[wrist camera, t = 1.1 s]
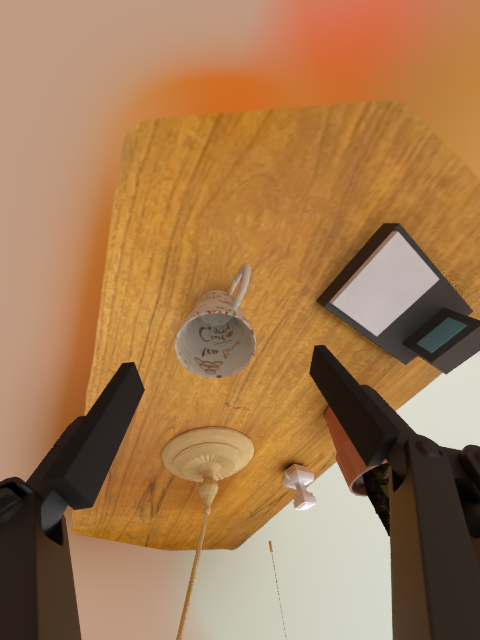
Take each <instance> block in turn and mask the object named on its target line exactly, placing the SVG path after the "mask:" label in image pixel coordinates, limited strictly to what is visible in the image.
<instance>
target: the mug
mask: <svg viewBox="0 0 480 640" xmlns="http://www.w3.org/2000/svg"><path fill="white" fill-rule="evenodd" d="M250 272H251V268H250V265H249V264H248V263H245V264H243V265H242V266H241V267H240V268H239V270H238V272H237V273H236V275H235V276H234V278H233V281H232V284H231V286H230V289H229V292H228V293H227V292H224V291H221V290H211V291H208V292H206V293H204V294H203V295H202V296H201V297H200V298H199V299H198V301H197V302H196V304H195V305H194V307H193V308H192V310H191V311H190V313H189V314H188V316H187V317H186V319H185V320H184V322H183V323H182V324H181V326H180V328H179V330H178V332H177V334H176V337H175V353H176V356H177V358H178V360H179V361H180V363H181V364H182V365H183V366H184V367H185V368H186V369H188V370H189V371H190V372H192V373H194V374H196V375H199V376H202V377H207V378H222V377H227V376H230V375H233V374H235V373H237V372H239V371H241V370H242V369H243V368H245V367H246V366H247V365H248V364H249V362H250V361H251V359H252V358H253V356H254V353H255V349H256V338H255V334H254V332H253V329H252V327H251V326H250V324H249V322H248V321H247V319H246V318H245V316H244V314H243V313H242V311H241V309H240V308H239V305H240V303H241V301H242V299H243V297H244V294H245V292H246V290H247V287H248V283H249V279H250ZM241 277H242V279H241ZM240 279H241V283H240V287H239V289H238V292H237V294H236V296H235V298H234V299H233V297H232V296H231V295H232V293H233V292H234V290H235V288H236V286H237V284H238V283H239V281H240Z"/></svg>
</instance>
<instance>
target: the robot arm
mask: <svg viewBox="0 0 480 640" xmlns="http://www.w3.org/2000/svg"><path fill="white" fill-rule="evenodd" d="M309 374H310V375H311V377H312V378H313V380H314V382H315V383H316V385H317V387H318V388H319V390H320V391H321V393H322V395H323V396H324V398H325V400H326V401H327V403H328V404H329V406H330V408H331V409H332V411H333V413H334V414H335V416H336V418H337V419H338V421H339V422H340V424H341V426H342V427H343V429H344V431H345V432H346V434H347V435H348V437H349V439H350V440H351V442H352V444H353V445H354V447H355V448H356V450H357V452H358V453H359V455H360V457H361V458H362V460H363V461H364V463H365V465H366V466H367V467H370V466H377V465H381V464H382V462H383V461H384V459H386V460H387V462H388V463H389V464H390V466H389V467H388V469H387V470H386V472H385V474H384V478H385V479H386V478H387V477H388V476H389V506H390V544H391V583H392V585H391V586H392V628H393V640H480V447H479V446H476V445H468V446H465V447H464V448H463V450H462V451H461V450H456V449H451V448H446V447H441V446H439V445H438V444H436V443H435V442H434V441H432V440H431V439H429V438H427V437H425V436H422V435H418V434H416V433H415V432H414V431H413V430H412V429H411V428H410V427H409V426H408V424H407V423H406V422H405V421H404V420H403V419H402V418H401V417H400V416H399V415H398V414H397V413H396V412H395V411H394V410H393V409H392V408H391V407H390V406H389V404H388V403H387V402H386V401H385V400H383V398H382V397H381V396H380V395H379V394H378V393H377V392H376V391H375V390H374V389H372V388H371V387H369V386H368V385H359V384H358V383H357V381H356V380H355V379H354V378H353V377H352V376H351V375H350V373H349V372H348V371H347V370H346V369H345V368H344V367H343V366H342V364H341V363H340V362H339V361H338V360H337V359H336V358H335V357H334V355H333V354H332V353H331V352H330V351H329V350H328V349H327V347H326V346H325V345H318V346H314V351H313V357H312V362H311V367H310V372H309ZM144 391H145V389H144V387H143V384H142V382H141V379H140V376H139V374H138V371H137V368H136V366H135V363H134V362H129V363H122V365H121V366H120V368H119V369H118V370H117V372H116V373H115V375H114V376H113V378H112V379H111V381H110V382H109V383H108V385H107V386H106V388H105V389H104V391H103V392H102V394H101V395H100V396H99V398H98V399H97V401H96V402H95V404H94V405H93V407H92V408H91V409H90V411H89V412H88V414H87V415H86V416H81V417H78V418H77V419H76V420H74V421H73V422H72V423H71V424H70V425H69V426H68V427H67V428H66V430H65V431H64V432H63V434H62V435H61V436H60V439H58V440H57V442H56V443H55V444H54V446H53V448H51V450H50V451H49V452H48V454H47V455H46V456H45V458H44V459H43V460H42V462H41V463H40V464H39V466H38V467H37V469H36V470H35V471H34V473H33V474H32V475H31V476H30V478H29V479H28V480H27V482H26V483H25V482H24V481H23V480H22V479H20V478H18V477H12V478H7V479H5V480H3V481H1V482H0V640H81V633H80V625H79V617H78V610H77V602H76V594H75V587H74V579H73V571H72V564H71V556H70V549H69V541H68V534H67V526H66V519H65V517H64V514H63V513H64V511H65V510H66V508H67V506H68V505H69V506H71V507H72V508H73V509H74V510H78V509H84V508H91V507H93V505H94V503H95V500H96V498H97V496H98V494H99V491H100V489H101V487H102V485H103V482H104V480H105V478H106V476H107V474H108V471H109V469H110V467H111V465H112V462H113V460H114V458H115V456H116V453H117V451H118V449H119V447H120V444H121V442H122V440H123V438H124V435H125V433H126V431H127V429H128V426H129V424H130V422H131V420H132V417H133V415H134V413H135V411H136V408H137V406H138V404H139V402H140V400H141V397H142V395H143V393H144Z"/></svg>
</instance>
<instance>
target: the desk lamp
mask: <svg viewBox="0 0 480 640" xmlns="http://www.w3.org/2000/svg"><path fill="white" fill-rule="evenodd" d="M253 453H254V447H253V444H252V442H251V440H250V438H248V437H247V436H246V435H244V434H243V433H241V432H239V431H236V430H234V429H229V428H224V427H205V428H198V429H194V430H190V431H187V432H185V433H182V434H180V435H178V436H176V437H175V438H173V439H172V440H171V441H170V442H169V443H168V444H167V445H166V446H165V448H164V450H163V452H162V462H163V465H164V466H165V467H166V469H167V470H168V471H170V472H171V473H172V474H174V475H176V476H178V477H181V478H183V479H186V480H190V481H194V482H200V485H199V488H198V493H199V497H201V498H202V500H203V503H204V505H205V508H204V514H205V515H204V519H203V524H202V528H201V533H200V537H199V541H198V546H197V550H196V555H195V559H194V564H193V568H192V573H191V577H190V581H189V586H188V590H187V595H186V599H185V604H184V608H183V613H182V617H181V621H180V626H179V630H178V635H177V639H176V640H181V639H182V634H183V630H184V625H185V620H186V615H187V611H188V606H189V602H190V597H191V592H192V588H193V583H194V579H195V574H196V569H197V565H198V560H199V556H200V551H201V546H202V542H203V537H204V533H205V528H206V523H207V519H208V515H209V514H210V512H211V506H210V505H211V504H212V500H213V498H214V497H215V496H216V494H217V491H218V485H217V482H216V481H218V480H219V479H220V480H222V479H223V478H226V477H228V476H230V475H232V474H234V473H236V472H238V471H240V470H241V469H242V468H244V467H245V466H246V465H247V464H248V463H249V461H250V460H251V459H252V457H253ZM269 545H270V551H271V552H273V551H272V545H271V541H269Z"/></svg>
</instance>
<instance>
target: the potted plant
mask: <svg viewBox="0 0 480 640" xmlns="http://www.w3.org/2000/svg"><path fill="white" fill-rule="evenodd" d="M325 418H326V421H327V424H328V427H329V430H330V433H331V436H332V439H333V442H334V445H335V448H336V451H337V454H336V460H337V463H338V465H339V467H340V469H341V471H342V474H343V476H344V478H345V480H346V482H347V485H348V487H349V489H350V491H351V493H353V494H355V495H357V496H363V497H365V496H368V497H369V499H370V501H371V503H372V505H373V506H374V508H375V511H376V514H378V516H379V518H380V519H381V521H382V523H383V525H384V527H385V529H386V531H387V533H388V536H390V506H389V476H388V477H387V478H386V479H385V478H384V474H385V472H386V470H387V469H388V467H389V466H390V464H389V463H388V462H387V460H386V459H384V461H383V462H382V464H381V465H377V466H370V467H367V466H366V465H365V463H364V461H363V460H362V458H361V457H360V455H359V453H358V452H357V450H356V448H355V447H354V445H353V444H352V442H351V440H350V439H349V437H348V435H347V434H346V432H345V431H344V429H343V427H342V426H341V424H340V422H339V421H338V419H337V418H336V416H335V414H334V413H333V411H332V409H331V408H330V406H329V407H328V408H327V410H326V412H325Z"/></svg>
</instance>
